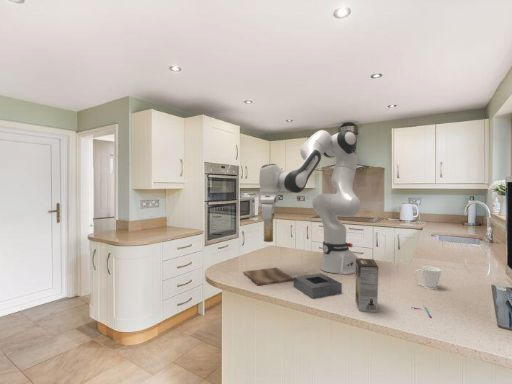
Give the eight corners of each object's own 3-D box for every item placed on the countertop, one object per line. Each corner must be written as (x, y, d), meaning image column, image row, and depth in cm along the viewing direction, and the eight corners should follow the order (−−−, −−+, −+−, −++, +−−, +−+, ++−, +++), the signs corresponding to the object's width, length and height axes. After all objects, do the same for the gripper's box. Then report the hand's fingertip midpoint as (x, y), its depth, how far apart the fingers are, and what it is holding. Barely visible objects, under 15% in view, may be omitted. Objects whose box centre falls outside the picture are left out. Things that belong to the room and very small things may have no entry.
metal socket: (320, 282, 125) (320, 273, 125) (341, 293, 112) (341, 283, 112) (293, 286, 119) (293, 276, 119) (312, 298, 107) (312, 288, 106)
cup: (442, 291, 114) (442, 272, 114) (414, 287, 119) (414, 268, 119) (439, 286, 121) (439, 267, 121) (413, 282, 125) (413, 264, 125)
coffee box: (354, 300, 105) (355, 258, 105) (372, 301, 104) (373, 259, 103) (358, 311, 96) (359, 264, 96) (378, 312, 95) (379, 266, 94)
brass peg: (263, 239, 134) (263, 212, 134) (274, 240, 133) (274, 212, 133) (261, 242, 128) (261, 213, 128) (273, 242, 128) (274, 214, 127)
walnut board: (276, 269, 143) (276, 267, 143) (294, 280, 127) (294, 278, 126) (243, 273, 136) (243, 271, 136) (257, 285, 120) (257, 283, 120)
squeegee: (407, 297, 107) (422, 299, 106) (407, 299, 107) (422, 301, 106) (414, 314, 93) (431, 317, 91) (414, 317, 93) (431, 319, 91)
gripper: (264, 197, 141) (263, 224, 141) (259, 199, 121) (259, 231, 121) (276, 197, 140) (276, 225, 141) (274, 199, 120) (273, 231, 120)
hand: (268, 228), depth 131 cm, fingers closed on brass peg, 5 cm apart
